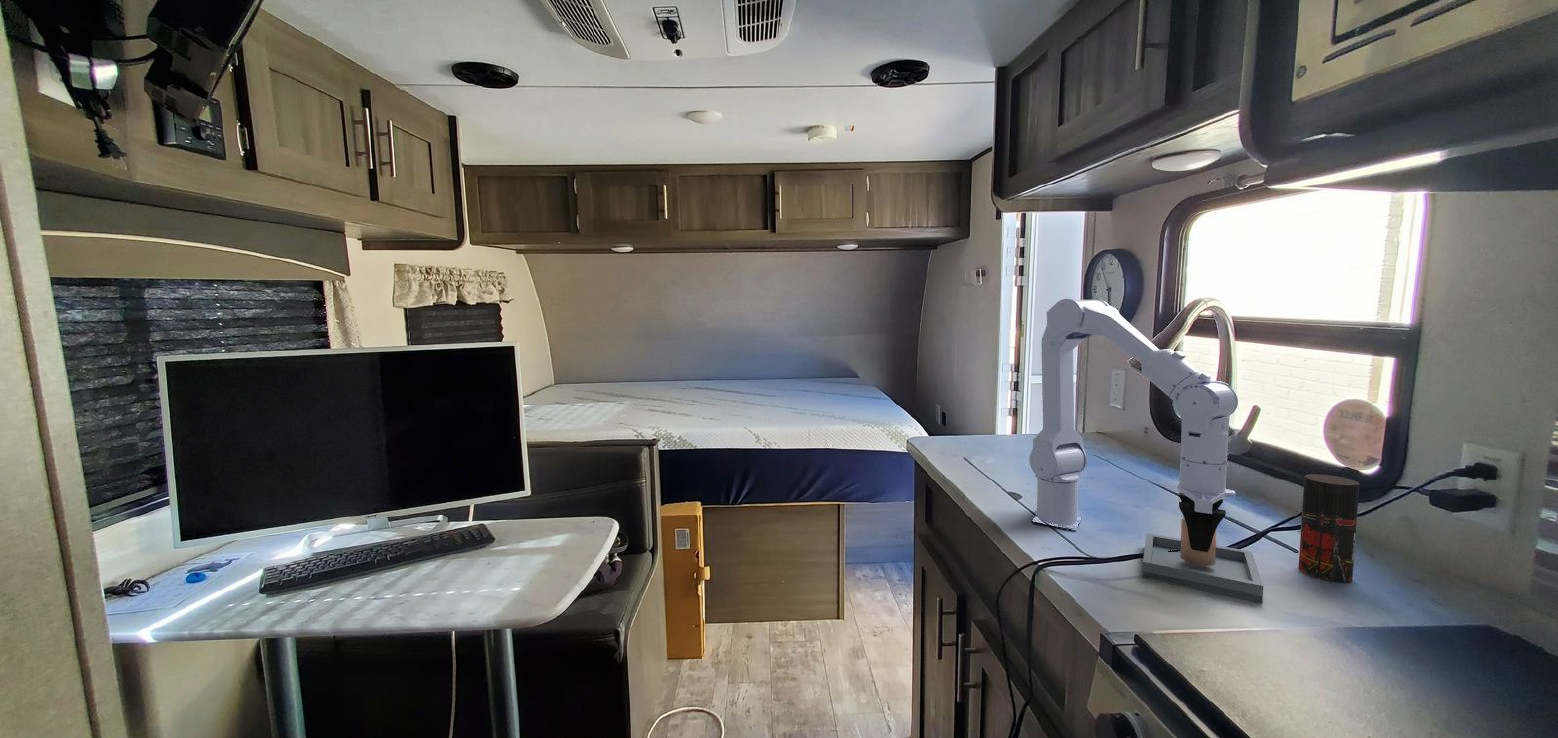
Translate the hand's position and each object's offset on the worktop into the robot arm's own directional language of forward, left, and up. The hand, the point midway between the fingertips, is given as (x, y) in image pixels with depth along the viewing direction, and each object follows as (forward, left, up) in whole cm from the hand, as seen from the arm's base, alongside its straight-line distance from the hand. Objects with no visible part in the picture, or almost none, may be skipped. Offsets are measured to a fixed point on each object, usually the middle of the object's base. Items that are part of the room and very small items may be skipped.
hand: (1198, 544), depth 86 cm
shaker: (0, 0, -2) cm, 2 cm away
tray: (0, 0, -4) cm, 4 cm away
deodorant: (-10, +16, -5) cm, 19 cm away
